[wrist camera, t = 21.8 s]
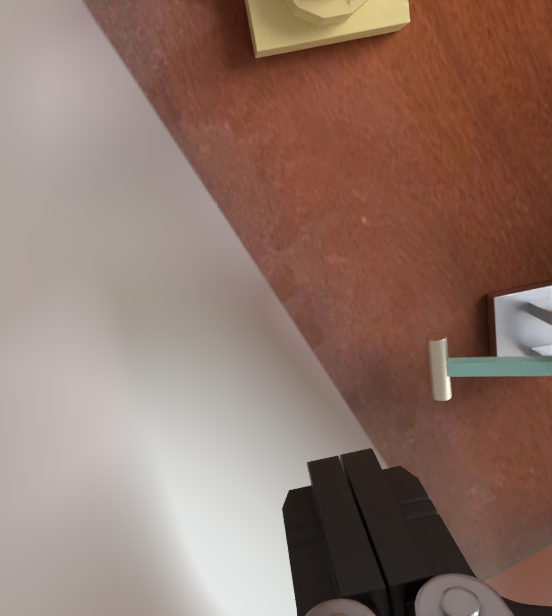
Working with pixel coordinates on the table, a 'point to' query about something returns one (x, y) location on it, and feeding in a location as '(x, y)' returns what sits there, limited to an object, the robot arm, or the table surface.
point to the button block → (319, 22)
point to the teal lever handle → (476, 366)
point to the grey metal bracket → (521, 321)
